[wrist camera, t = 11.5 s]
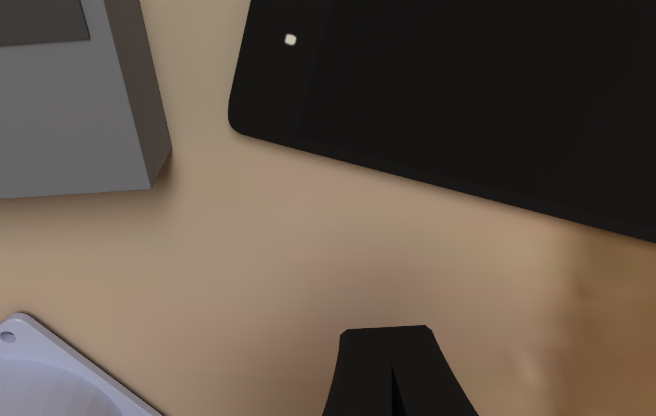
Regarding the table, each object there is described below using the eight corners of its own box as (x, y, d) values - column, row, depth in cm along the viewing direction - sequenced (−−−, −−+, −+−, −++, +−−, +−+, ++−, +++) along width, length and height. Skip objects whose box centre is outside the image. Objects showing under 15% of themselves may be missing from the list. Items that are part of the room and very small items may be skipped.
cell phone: (749, 256, 21) (766, 273, 20) (226, 117, 18) (221, 130, 17) (955, -3, 16) (988, 4, 15) (304, -236, 14) (303, -242, 13)
